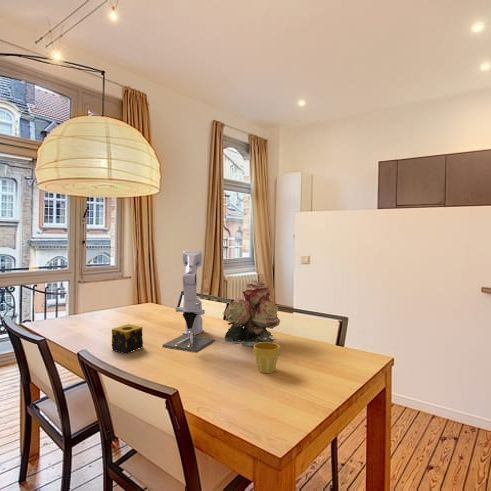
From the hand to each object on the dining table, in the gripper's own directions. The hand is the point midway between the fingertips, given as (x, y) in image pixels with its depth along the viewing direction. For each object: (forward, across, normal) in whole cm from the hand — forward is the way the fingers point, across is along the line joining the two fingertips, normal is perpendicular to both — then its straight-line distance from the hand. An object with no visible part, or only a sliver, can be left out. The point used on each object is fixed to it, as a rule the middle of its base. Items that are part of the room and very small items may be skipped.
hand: (189, 328), depth 165 cm
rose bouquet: (+10, +23, +24) cm, 35 cm away
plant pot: (+10, +41, -10) cm, 43 cm away
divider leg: (+8, -3, +6) cm, 10 cm away
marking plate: (+9, -4, +6) cm, 12 cm away
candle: (+10, -26, -12) cm, 30 cm away
